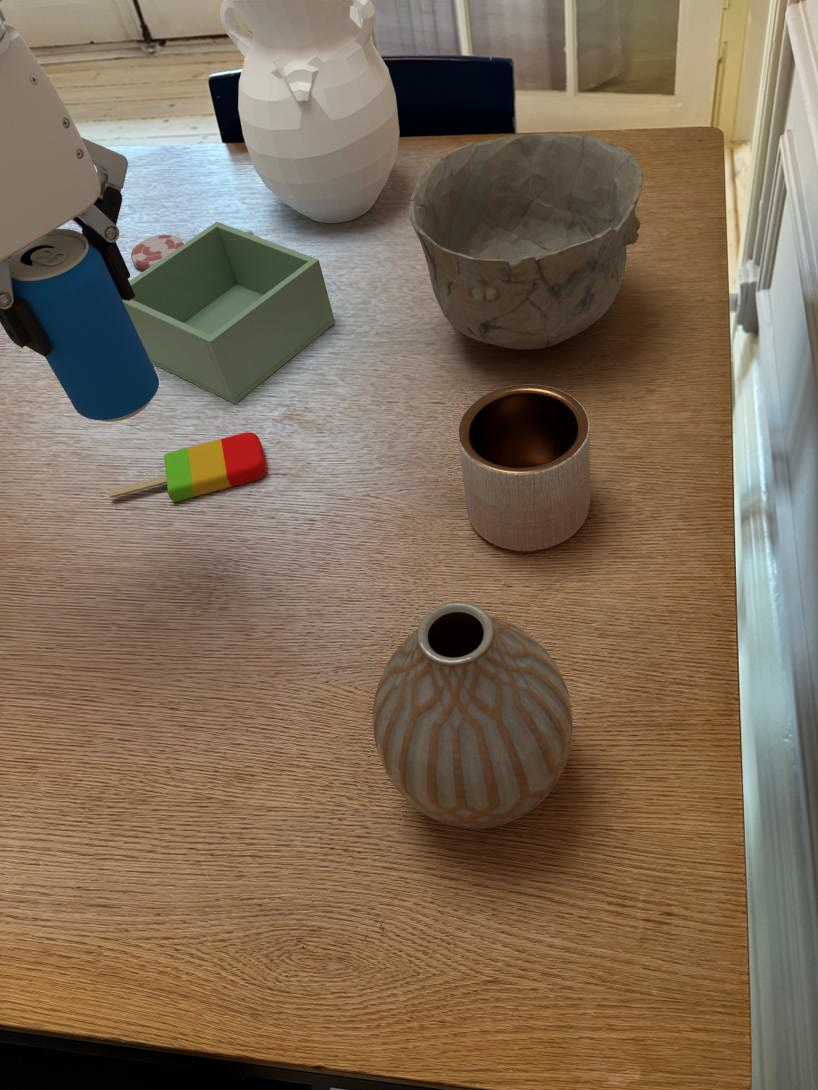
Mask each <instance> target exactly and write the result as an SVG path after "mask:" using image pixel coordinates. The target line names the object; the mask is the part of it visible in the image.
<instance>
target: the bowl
mask: <svg viewBox="0 0 818 1090" xmlns="http://www.w3.org/2000/svg"><path fill="white" fill-rule="evenodd" d="M643 178H644V177H643V172H642V169H641V167H640V165H639V163H638V161H637V160H636V159H635V156H634V155H633V154H632V153H631V152H630V151H629V150H627V149H626V148H624V147H623V146H618V145H616V144H614V143H611V142H609V141H607V140H604V139H603V138H599V137H596V136H594V135H591V134H588V133H587V134H586V133H585V134H584V135H583V134H577V133H573V132H572V133H571V132H570V133H569V132H560V133H554V132H553V133H552V132H535V133H530V134H513V135H507V136H503V137H498V138H496V139H488V140H484V141H481V142H478V143H476V142H472V143H468V144H466V145H463V146H461V147H458V148H455V149H453V150H452V151H449V153H448V154H446V155H445V156H444V157H443V156H441V157H440V158H438V159H437V160H436V161H434V162H432V163H431V164H430V165H429V168H426V169H425V171H424V172H423V173H422V174H421V176H420V177H419V179H417V181H416V184H415V187H414V189H413V191H412V193H411V195H410V198H409V201H410V202H409V206H408V217H409V221H410V223H411V225H412V227H413V230H414V232H415V234H416V236H417V238H418V240H419V243H420V244H421V248H422V251H423V253H424V257H425V261H426V264H427V265H426V266H427V269H428V273H429V274H428V275H429V279H430V282H431V286H432V291H433V294H434V297H435V300H436V302H437V303H438V306H439V308H440V311H441V312H442V314H443V316H444V317H445V319H446V320H447V321H448V323H449V324H450V325H451V326H452V327H453V328H454V329H455V330H457V331H459V332H460V333H461V334H463V335H465V336H467V337H469V338H470V339H473V340H476V341H479V342H483V343H486V344H491V345H493V346H498V347H502V348H505V349H506V348H507V349H512V350H521V351H524V350H538V349H539V350H540V349H544V348H548V347H551V346H554V345H558V344H560V343H562V342H564V341H566V340H568V339H570V338H572V337H574V336H577V335H578V334H580V333H582V332H583V331H584V330H586V329H588V328H589V327H590V326H591V325H593V324H594V323H595V322H597V321H598V320H599V319H600V318H601V317H602V316H603V315H604V314H606V313H607V311H608V310H609V309H610V307H611V306H612V304H613V303H614V301H615V299H616V296H617V294H618V292H619V290H620V288H621V285H622V282H623V278H624V274H625V271H626V264H627V260H628V256H627V248H628V247H627V246H629V245H634V244H636V243H637V241H638V240H639V237H640V236H639V235H640V234H639V232H638V231H639V229H640V228H641V223H642V222H641V221H640V219H638V217H637V216H636V207H637V204H638V202H639V199H640V197H641V194H642V191H643V189H642V187H643V180H644V179H643Z"/></svg>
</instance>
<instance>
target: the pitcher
mask: <svg viewBox="0 0 818 1090" xmlns="http://www.w3.org/2000/svg"><path fill="white" fill-rule="evenodd" d="M352 6H353V7H354V8H355V9H356V10H357V11H358V12H359V14H360V16H361V19H362V22H361V23H362V24H361V26H362V27H360V25H358V24H357V22H355V21H354V19H352V17H351V16H350V15H351V7H352ZM234 9H237V12H238V13H239V14H240V16H241V17H242V19H243V20H244V22H245V23H246V24H247V27H248V28H249V30H250V31H248V30H245V29H244V28H243V26H242V25H241V24H240V23H239V22H238V20H237V17H236V14H235V11H234ZM219 20H220V24H221V26H222V28H223V29H224V31H225V33H226V35H227V36H228V37H229V38H230V41H232V42H233V43H234V44H235V46H236V47H237V48H238V50H239V51H240V53H241V54H242V56H243V63H242V68H241V72H240V77H239V79H238V97H237V98H238V100H237V101H238V102H237V104H238V105H237V106H238V107H237V110H238V115H239V120H240V125H241V126H240V127H241V131H242V136H243V140H244V144H245V146H246V149H247V152H248V155H249V158H250V161H251V163H252V167H253V168H254V171H255V173H256V174H257V175H258V177H259V178H260V179H261V181H262V183H263V184H264V185H265V187H266V188H267V189H268V190H269V191H270V192H271V193H273V195H275V196H276V197H277V198H278V199H279V200H281V201H282V202H283V203H284V204H286V206H288V207H290V208H291V209H293V210H295V211H296V212H297V213H300V214H302V215H303V216H305V217H306V218H308V219H310V220H311V221H314V222H317V223H322V224H323V223H324V224H339V223H345V222H350V221H353V220H356V219H357V218H359V217H362V216H364V215H365V214H366V213H367V212H369V211H370V210H371V209H372V208H373V206H374V205H375V204H376V202H377V200H378V198H379V197H380V195H381V192H382V191H383V190H384V187H385V185H386V184H387V181H388V179H389V177H390V174H391V172H392V170H393V168H394V165H395V163H396V159H397V157H398V149H399V142H400V141H399V140H400V133H401V132H400V125H399V124H400V123H399V117H398V116H399V113H398V104H397V95H396V91H395V88H394V84H393V81H392V77H391V74H390V70H389V67H388V66H387V64H386V63H385V61H384V60H383V57H382V56H381V54H380V52H379V51H378V49H377V48H376V46H375V45H374V44H373V42H372V40H371V37H372V34H373V31H374V27H375V24H376V9H375V6H374V3H373V2H372V0H223V1H222V4H221V5H220V8H219Z"/></svg>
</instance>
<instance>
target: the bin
mask: <svg viewBox="0 0 818 1090" xmlns="http://www.w3.org/2000/svg"><path fill="white" fill-rule="evenodd" d="M246 232H247V231H243V230H241V229H238V228H235V227H232V226H230V225H227V224H224V223H222V222H219V221H215V222H214V223H212V224H211V225H210V226H208V227H206V228H204V229H203V230H202V231H201V232H199V233H198V234H196V235H195V236H194V237H192V238H190V239H189V240H187V241H186V242H184V244H183V245H182V246H180V247H179V248H177V249H176V250H174V251H173V252H171V253H170V254H168V255H167V256H165V257H164V258H163V259H161V260H160V261H158V262H157V263H155V264H154V265H152V266H151V267H149V268H148V269H146V270H142V272H140V273H139V274H138V275H136V276H134V277H133V278H132V279H129V282H130V285H131V287H132V289H133V291H134V293H135V297H134V298H133V299H131V300H130V301H128V300H126V301H125V300H123V299H122V301H123V303H124V305H125V307H126V309H127V311H128V314H129V316H130V318H131V320H132V322H133V324H134V326H135V329H136V331H137V333H138V335H139V337H140V339H141V341H142V344H143V346H144V348H145V350H146V352H147V354H148V356H149V359H150V361H151V363H152V365H155V366H157V367H159V368H161V369H163V370H165V371H167V372H168V373H171V374H173V375H175V376H177V377H179V378H181V379H183V380H185V381H187V382H189V383H191V384H194V385H195V386H198V387H200V388H201V389H203V390H206V391H207V392H210V393H211V394H214V395H216V396H218V397H219V398H222V399H224V400H226V401H228V402H230V403H232V404H234V405H236V404H237V403H238V402H240V401H241V400H242V399H244V398H245V397H247V395H248V394H250V393H251V392H252V391H253V390H255V389H256V388H257V387H258V386H259V385H261V384H262V383H263V382H264V381H266V380H267V379H268V378H270V376H272V375H273V374H274V373H276V372H277V371H278V370H279V369H280V368H282V367H283V366H284V365H285V364H287V363H288V362H290V361H291V359H293V358H294V357H295V356H296V355H298V354H299V353H300V352H301V351H303V350H304V349H305V348H306V347H308V346H309V345H310V344H311V343H313V342H314V341H315V340H317V338H319V337H320V336H321V335H323V334H324V333H325V332H327V330H329V329H330V328H331V327H332V326H334V325H335V324H336V321H335V316H334V313H333V308H332V305H331V301H330V296H329V293H328V290H327V286H326V282H325V278H324V274H323V271H322V267H321V262H320V260H319V258H315V257H312V256H310V255H307V254H305V253H303V252H299V251H297V250H293V249H291V248H289V247H286V246H283V245H280V244H278V243H275V242H273V241H270V240H267V239H264V238H262V237H260V236H257V235H255V234H253V235H251V234H249V233H246Z"/></svg>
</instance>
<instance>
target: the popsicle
mask: <svg viewBox="0 0 818 1090" xmlns="http://www.w3.org/2000/svg"><path fill="white" fill-rule="evenodd" d="M163 459H164V468H165V469H164V470H165V474H164V475H159V476H155V477H152V478H151V477H150V478H147V479H144V480H141V481H137V482H133V483H129V484H125V485H122V486H121V485H120V486H118V487H114V488H111V489H109V490H108V491H107V495H108V497H109V498H110V499H114V498H118V497H122V496H125V495H128V494H134V493H136V492H140V491H144V490H148V489H151V488H155V487H159V486H164V485H166V487H167V494H168V496H169V498H170V500H171V502H173V503H176V502H180V501H184V500H188V499H191V498H195V497H199V496H202V495H206V494H210V493H213V492H217V491H222V490H224V489H229V488H232V487H235V486H240V485H243V484H247V483H251V482H254V481H257V480H260V479H262V478H263V477H264V476H266V474H267V462H266V457H265V452H264V448H263V445H262V442H261V440H260V437H259V436H258V435H257V434H256V433H254V432H251V431H250V432H242V433H237V434H235V435H230V436H227V437H222V438H219V439H216V440H212V441H208V442H204V443H200V444H197V445H192V446H189V447H185V448H181V449H177V450H174V451H170V452H166V453H165V454H164V456H163Z"/></svg>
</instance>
